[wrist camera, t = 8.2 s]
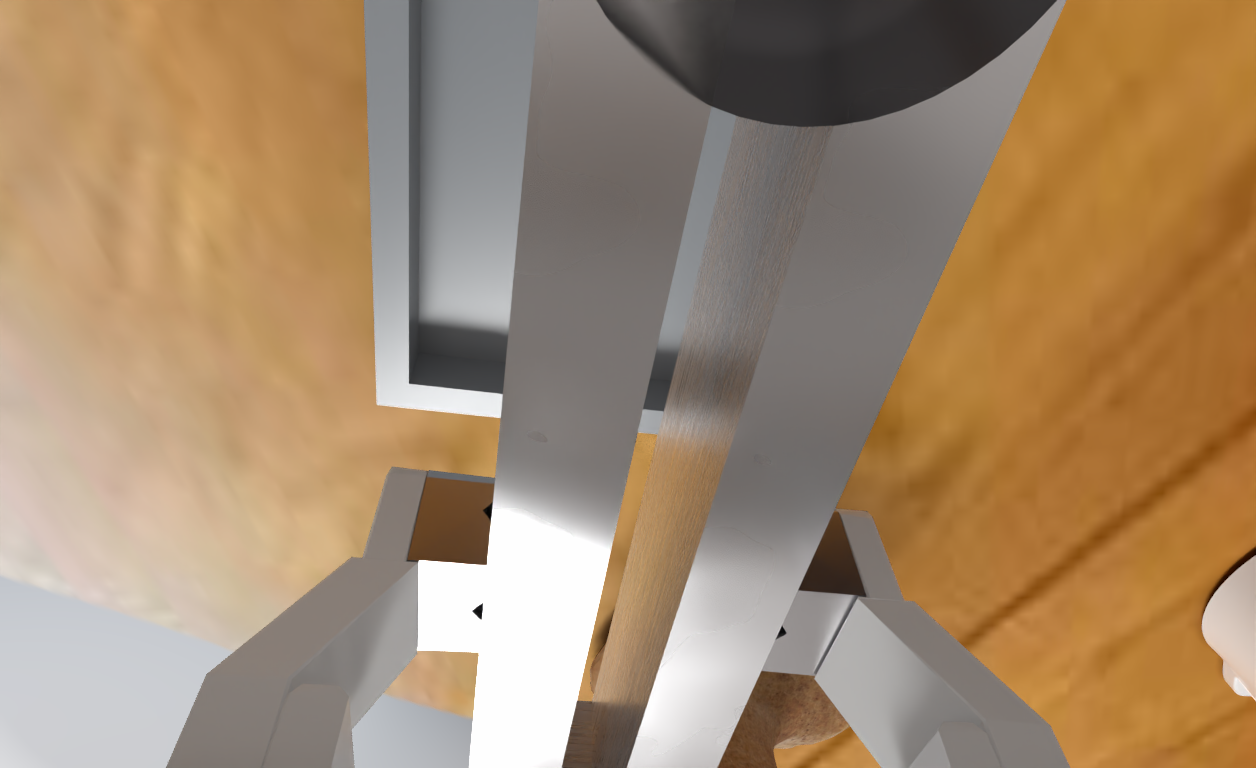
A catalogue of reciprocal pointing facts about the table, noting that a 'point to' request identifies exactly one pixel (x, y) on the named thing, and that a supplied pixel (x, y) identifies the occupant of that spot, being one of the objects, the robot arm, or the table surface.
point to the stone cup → (774, 718)
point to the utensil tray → (473, 202)
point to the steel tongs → (712, 336)
